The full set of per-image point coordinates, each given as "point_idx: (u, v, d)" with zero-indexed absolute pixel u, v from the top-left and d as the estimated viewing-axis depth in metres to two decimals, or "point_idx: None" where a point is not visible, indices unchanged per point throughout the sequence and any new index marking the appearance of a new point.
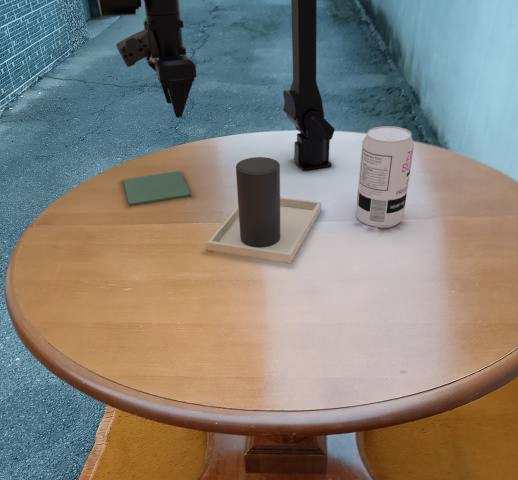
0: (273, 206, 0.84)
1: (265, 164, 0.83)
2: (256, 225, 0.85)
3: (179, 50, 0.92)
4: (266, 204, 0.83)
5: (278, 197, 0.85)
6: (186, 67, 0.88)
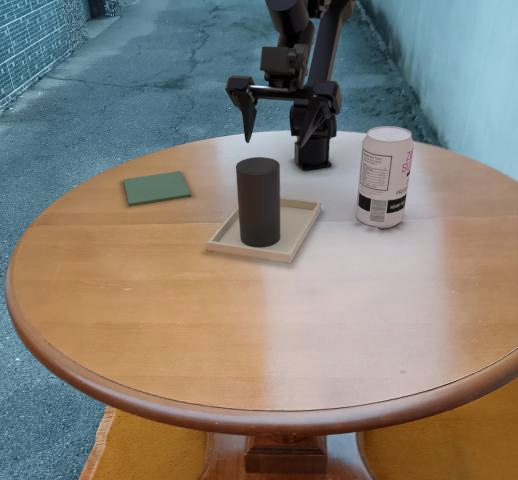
0: (273, 206, 0.84)
1: (265, 164, 0.83)
2: (256, 225, 0.85)
3: None
4: (266, 204, 0.83)
5: (278, 197, 0.85)
6: (341, 100, 0.87)
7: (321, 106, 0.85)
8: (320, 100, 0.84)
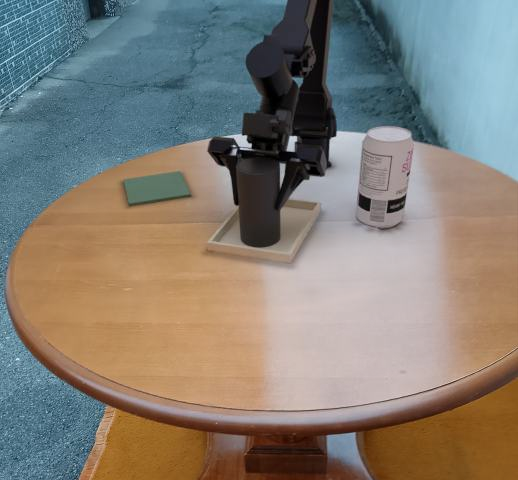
0: (273, 206, 0.84)
1: (265, 164, 0.83)
2: (256, 225, 0.85)
3: None
4: (266, 204, 0.83)
5: None
6: (325, 162, 0.85)
7: (299, 170, 0.83)
8: (297, 165, 0.82)
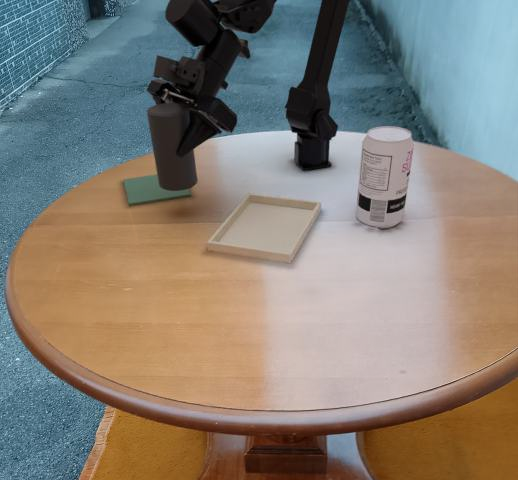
0: (174, 151, 0.88)
1: (174, 109, 0.86)
2: (160, 166, 0.90)
3: None
4: (166, 148, 0.87)
5: None
6: (233, 119, 0.85)
7: (202, 120, 0.85)
8: (196, 114, 0.84)
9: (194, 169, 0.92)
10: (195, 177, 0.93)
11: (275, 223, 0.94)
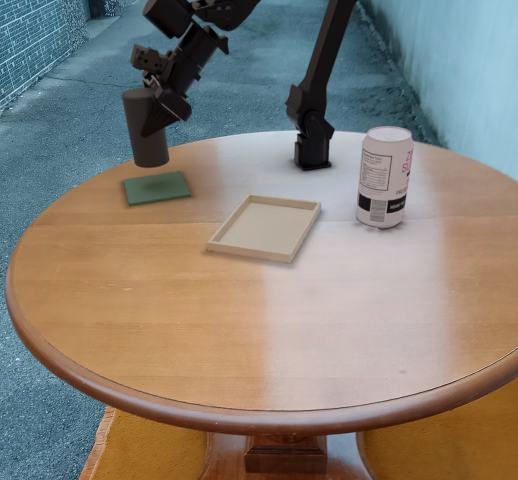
0: (139, 131, 0.97)
1: (144, 93, 0.96)
2: (131, 143, 1.01)
3: (181, 93, 0.96)
4: (132, 127, 0.97)
5: None
6: (184, 109, 0.91)
7: (160, 106, 0.93)
8: (153, 100, 0.92)
9: (162, 151, 1.01)
10: (163, 158, 1.02)
11: (275, 223, 0.94)
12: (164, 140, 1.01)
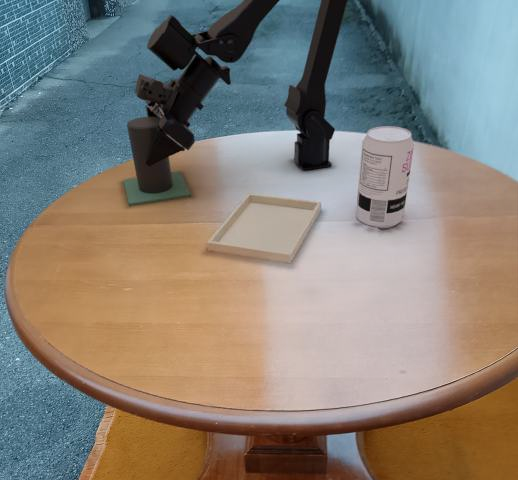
0: (143, 159, 1.01)
1: (149, 123, 0.99)
2: (136, 170, 1.04)
3: (184, 121, 1.00)
4: (137, 155, 1.01)
5: None
6: (187, 138, 0.95)
7: None
8: (158, 131, 0.95)
9: (165, 177, 1.04)
10: (166, 184, 1.05)
11: (275, 223, 0.94)
12: (168, 167, 1.04)
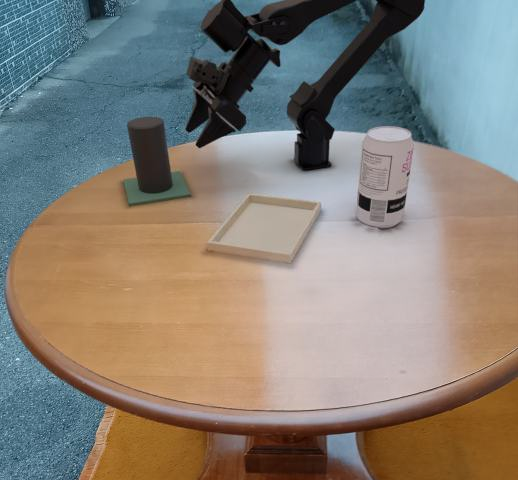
0: (143, 159, 1.01)
1: (149, 123, 0.99)
2: (136, 170, 1.04)
3: (234, 104, 1.01)
4: (137, 155, 1.01)
5: (151, 154, 1.00)
6: (240, 119, 0.96)
7: (217, 118, 0.97)
8: (210, 112, 0.96)
9: (165, 177, 1.04)
10: (166, 184, 1.05)
11: (275, 223, 0.94)
12: (168, 167, 1.04)
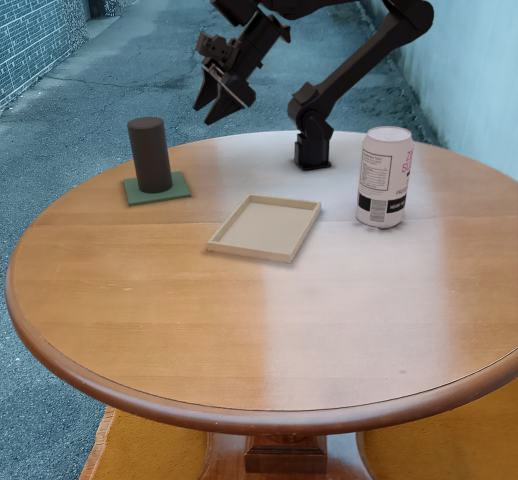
0: (143, 159, 1.01)
1: (149, 123, 0.99)
2: (136, 170, 1.04)
3: (243, 80, 0.99)
4: (137, 155, 1.01)
5: (151, 154, 1.00)
6: (250, 95, 0.94)
7: (226, 94, 0.95)
8: (220, 88, 0.94)
9: (165, 177, 1.04)
10: (166, 184, 1.05)
11: (275, 223, 0.94)
12: (168, 167, 1.04)
